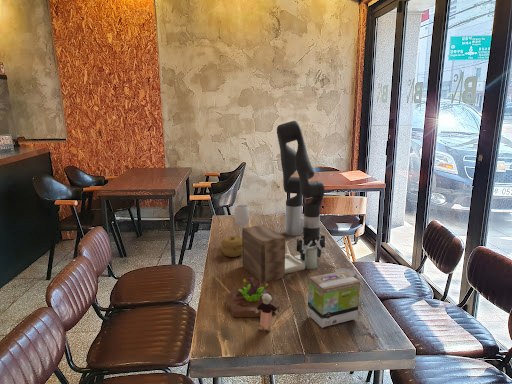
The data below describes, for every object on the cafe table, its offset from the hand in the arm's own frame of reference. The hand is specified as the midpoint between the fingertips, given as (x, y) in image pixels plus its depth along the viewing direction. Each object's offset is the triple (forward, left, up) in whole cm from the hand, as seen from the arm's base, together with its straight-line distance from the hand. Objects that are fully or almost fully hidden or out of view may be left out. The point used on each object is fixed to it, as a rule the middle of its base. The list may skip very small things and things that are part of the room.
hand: (310, 258), depth 173 cm
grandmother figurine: (+42, +33, -4) cm, 53 cm away
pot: (+26, -30, -4) cm, 40 cm away
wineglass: (+15, -42, -4) cm, 45 cm away
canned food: (+6, +30, -4) cm, 31 cm away
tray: (+10, -6, -4) cm, 12 cm away
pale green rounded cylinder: (0, 0, -4) cm, 4 cm away
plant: (+39, +16, -5) cm, 42 cm away
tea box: (+18, +38, -4) cm, 42 cm away
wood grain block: (+22, -6, -4) cm, 23 cm away
